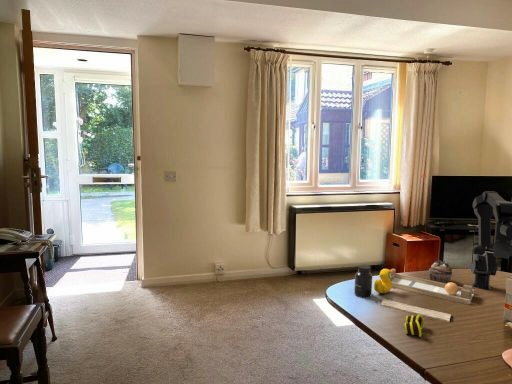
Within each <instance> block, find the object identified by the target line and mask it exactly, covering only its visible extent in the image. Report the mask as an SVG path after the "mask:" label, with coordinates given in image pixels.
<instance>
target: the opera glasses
mask: <svg viewBox="0 0 512 384" xmlns="http://www.w3.org/2000/svg"><path fill="white" fill-rule="evenodd" d="M424 321H425V319H424V316H422V315H420V314H419V315H418V314H414V315H412V314H411V315H406V316H405V322H404V329H405V330H404V331H405V335H412V336H414V335H416V336H418V337H420V338H421V337H422V330H423V328H424V323H425V322H424Z"/></svg>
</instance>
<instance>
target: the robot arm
mask: <svg viewBox="0 0 512 384" xmlns="http://www.w3.org/2000/svg"><path fill="white" fill-rule="evenodd" d="M472 208H473V212H474V215H475V216H476V218H477V221H478V222H477V223H478V224H477V225H478V244H476V245H475V246H474V247H473V250H472V251H473V252H472V254H473V255H474V260H473V261H472V262H471V264H470V271H471V273H472V274H473V275H474V281H473V283H472V285H471V286H472V288H475V289H476V288H477V289H481V290H482V289H483V290H486V291H490V289H491V287H492V285H491V284H490V282H491V276H494V277H495V276H496V275H497V271H498V263H497V258H503V259H505V260H506V259H509V258H512V201H507V200H505V199H504V198H503V197H502V196H501V195H500V194H499V192H497V191H489V190H486V191H483V192H482V194H480V195H478V196H476V197H475V198H474V199H473V201H472ZM493 216H494V218H495V229H494V230H495V231H494V239H493V241H494V242H493V245H492V233H491V231H492V228H491V225H492V222H491V221H492V220H491V218H492V217H493Z"/></svg>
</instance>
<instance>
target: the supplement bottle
mask: <svg viewBox="0 0 512 384" xmlns="http://www.w3.org/2000/svg"><path fill="white" fill-rule="evenodd" d="M372 289H373V274H372V273H371V266H369V265H366V264H361V265H358V267H357V272H356V273H355V274H354V290H353V291H354V295H356V296H357V297H359V298H364V297H365V298H366V297H367V298H370V297H371V295H372V292H373V291H372ZM365 298H364V299H365Z"/></svg>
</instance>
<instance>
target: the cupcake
mask: <svg viewBox="0 0 512 384" xmlns="http://www.w3.org/2000/svg"><path fill="white" fill-rule="evenodd" d="M450 265H451V263H450V262H449V261H442V260H441V259H439V260H436V261H434V263H433V264H431V266H430V267H429V269H428V273H429V280H430V281H435V282H440V283H445V284H447V283H449V282H451V278H452V276H453V272H452V271H453V269H452V267H451V266H450Z"/></svg>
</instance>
